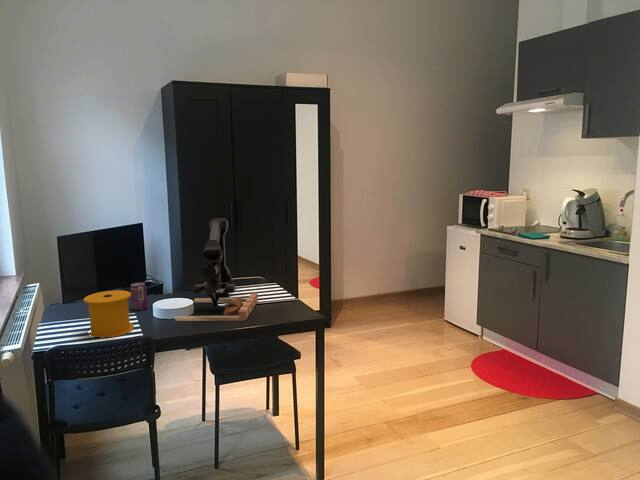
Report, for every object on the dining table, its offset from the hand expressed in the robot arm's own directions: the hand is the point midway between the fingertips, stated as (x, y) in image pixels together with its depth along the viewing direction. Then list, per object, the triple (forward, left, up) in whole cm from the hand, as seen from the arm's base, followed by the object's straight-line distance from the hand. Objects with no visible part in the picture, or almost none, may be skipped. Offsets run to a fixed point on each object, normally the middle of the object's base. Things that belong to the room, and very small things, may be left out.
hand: (215, 306), depth 240 cm
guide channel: (0, +1, -2) cm, 2 cm away
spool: (+27, -37, -2) cm, 46 cm away
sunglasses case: (-2, +8, -2) cm, 8 cm away
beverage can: (-3, -37, -2) cm, 37 cm away
